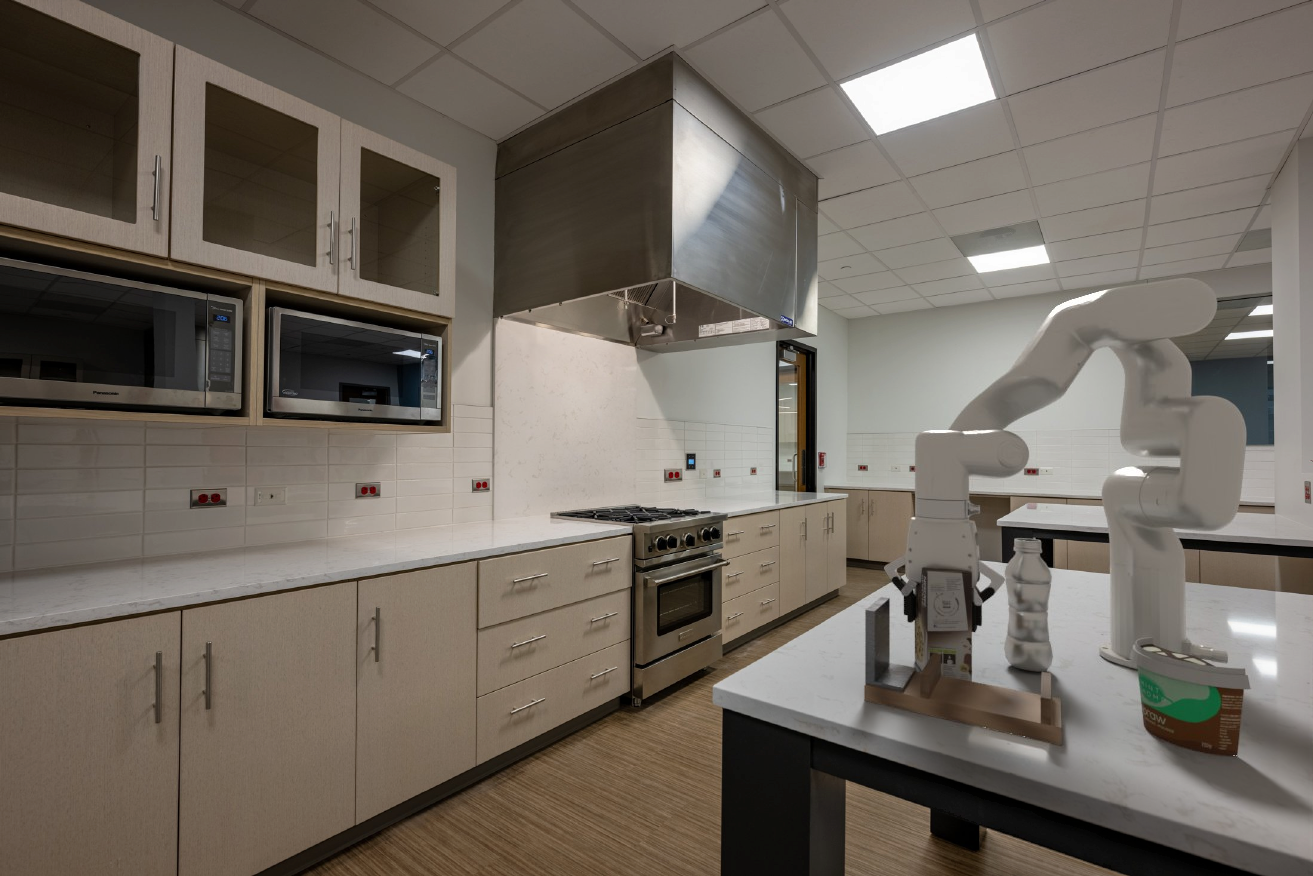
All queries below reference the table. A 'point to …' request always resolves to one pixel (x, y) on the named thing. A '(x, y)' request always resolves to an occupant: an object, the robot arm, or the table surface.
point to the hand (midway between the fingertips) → (941, 624)
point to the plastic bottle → (1028, 607)
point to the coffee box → (945, 620)
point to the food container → (1189, 699)
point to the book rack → (976, 703)
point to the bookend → (882, 650)
